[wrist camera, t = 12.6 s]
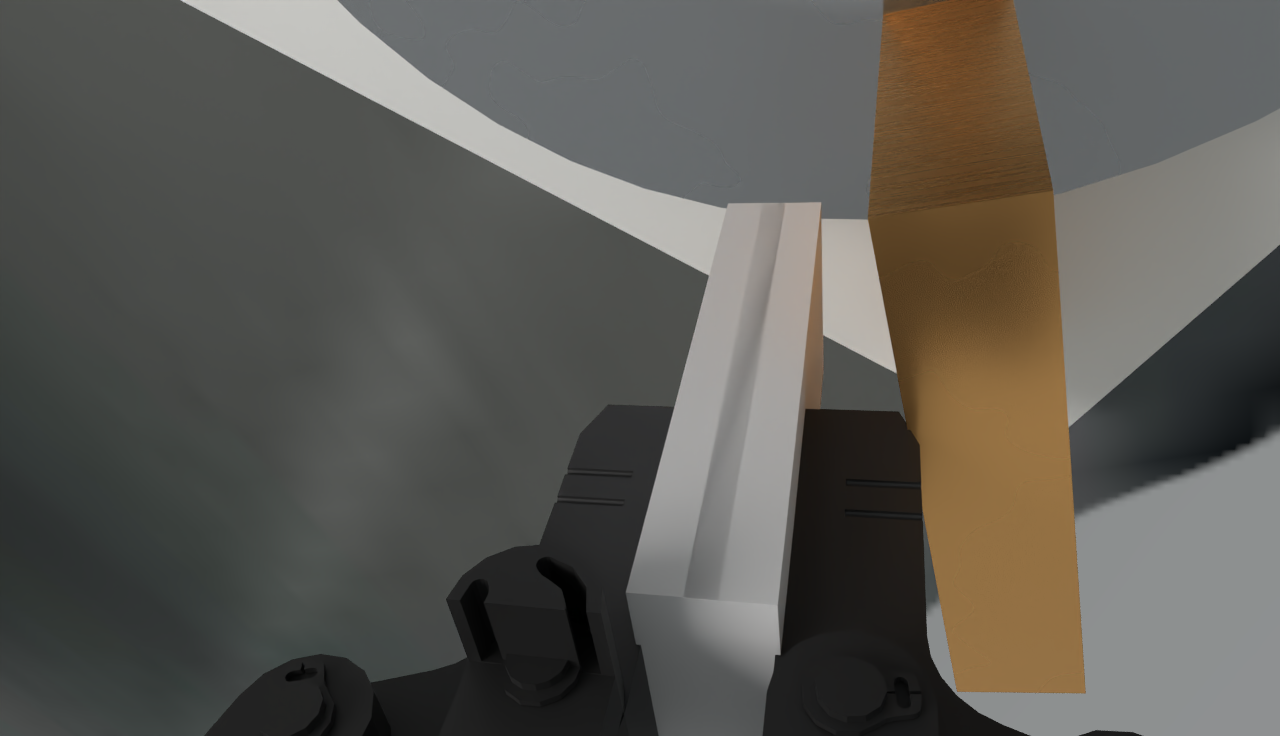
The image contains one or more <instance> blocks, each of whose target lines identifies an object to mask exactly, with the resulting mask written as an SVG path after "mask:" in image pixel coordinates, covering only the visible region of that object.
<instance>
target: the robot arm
mask: <svg viewBox="0 0 1280 736" xmlns="http://www.w3.org/2000/svg"><path fill="white" fill-rule="evenodd" d="M822 380H823V297H822V220H821V202H808V203H728V206H727V210H726V213H725V217H724V221H723V225H722V229H721V232H720V236H719V240H718V244H717V248H716V251H715V255H714V259H713V263H712V267H711V270H710V274H709V278H708V282H707V286H706V289H705V293H704V297H703V301H702V305H701V308H700V312H699V316H698V320H697V324H696V327H695V331H694V335H693V339H692V343H691V346H690V350H689V354H688V358H687V362H686V365H685V369H684V373H683V377H682V381H681V384H680V388H679V392H678V396H677V400H676V403H675V407H662V406H632V405H608V406H607V407H606V408H605V409H604V410H603V411H602V412H601V413H600V414H599V415H598V416H597V417H596V418H595V419H594V420H593V421H592V422H591V423H590V424H589V425H588V426H587V427H586V428H585V429H584V430H583V431H582V432H581V433H580V436H579V438H578V441H577V444H576V446H575V449H574V452H573V455H572V457H571V460H570V463H569V466H568V474H565V477H564V479H563V482H562V485H561V487H560V490H559V493H558V501H557V503H555V504H554V507H553V509H552V512H551V515H550V517H549V520H548V523H547V526H546V528H545V531H544V534H543V537H542V539H541V542H540V545H533V546H520V547H514V548H511V549H508V550H506V551H503V552H500V553H498V554H495V555H492V556H490V557H487V558H485V559H484V560H483V561H481V562H480V563H479V564H477V565H476V566H475V567H473V568H472V569H471V570H469V571H468V572H467V573H465V574H464V575H463V576H462V577H461V578H460V580H459V581H458V583H457V584H456V585H455V587H454V588H453V590H452V591H451V593H450V594H449V595H448V597H447V598H446V600H447V603H448V606H449V609H450V611H451V614H452V617H453V619H454V622H455V625H456V628H457V630H458V633H459V636H460V638H461V641H462V644H463V647H464V649H465V652H466V655H467V658H465V659H463V660H461V661H460V662H458V663H456V664H452V665H449V666H446V667H442V668H439V669H436V670H432V671H427V672H422V673H417V674H412V675H407V676H403V677H398V678H393V679H388V680H383V681H378V682H373V683H370V681H369V679H368V677H367V675H366V673H365V671H364V670H362V669H361V668H360V667H358V666H357V665H355V664H354V663H352V662H351V661H350V660H348V659H347V658H343V657H337V656H330V655H324V654H319V655H313V656H308V657H303V658H298V659H293V660H290V661H288V662H286V663H284V664H282V665H280V666H278V667H277V668H275V669H273V670H271V671H269V672H267V673H265V674H263V675H262V676H261V677H260V678H259V679H257V680H256V681H255V682H254V683H253V684H252V685H251V686H250V687H248V688H247V689H246V690H245V691H244V692H243V693H242V694H240V695H239V697H238V698H237V699H236V700H235V701H234V702H233V703H232V705H231V706H230V707H229V708H228V709H227V710H226V711H225V713H224V714H223V715H222V716H221V717H220V718H219V719H218V721H217V722H216V723H215V724H214V725H213V726H212V728H211V729H210V730H209V731H208V732H207V733H206V734H205V736H1029V735H1027V734H1024V733H1022V732H1019V731H1017V730H1014V729H1012V728H1009V727H1007V726H1004V725H1002V724H1000V723H998V722H996V721H994V720H992V719H990V718H988V717H986V716H984V715H982V714H980V713H978V712H977V711H976V710H974V709H973V708H972V707H970V706H969V705H968V704H967V703H965V702H964V701H963V700H962V699H960V698H959V697H958V696H957V695H956V694H955V693H954V692H953V691H952V689H951V688H950V687H949V686H948V685H947V683H946V682H945V681H944V680H943V679H942V677H941V676H940V674H939V672H938V670H937V668H936V666H935V664H934V662H933V660H932V658H931V655H930V650H929V644H928V639H927V624H926V597H925V569H924V542H923V521H922V490H921V461H920V444H919V443H918V441H917V439H916V438H915V436H914V435H913V433H912V432H911V430H908V429H907V424H906V422H905V421H904V419H903V418H902V416H901V415H900V413H899V412H893V411H861V410H829V409H820V404H821V392H822ZM1080 736H1142V735H1139V734H1136V733H1133V732H1118V731H1117V732H1116V731H1099V730H1095V731H1092V732H1089V733H1086V734H1083V735H1080Z"/></svg>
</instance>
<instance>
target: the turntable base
mask: <svg viewBox="0 0 1280 736" xmlns="http://www.w3.org/2000/svg"><path fill="white" fill-rule="evenodd" d="M181 1H183V2H185V3H187V4H189V5H191V6H193V7H194V8H196V9H198V10H200V11H202V12H204V13H206V14H208V15H210V16H212V17H214V18H216V19H217V20H219V21H221V22H223V23H225V24H227V25H229V26H231V27H233V28H235V29H237V30H239V31H241V32H242V33H244V34H246V35H248V36H250V37H252V38H254V39H256V40H258V41H260V42H262V43H264V44H265V45H267V46H269V47H271V48H273V49H275V50H277V51H279V52H281V53H283V54H285V55H287V56H289V57H290V58H292V59H294V60H296V61H298V62H300V63H302V64H304V65H306V66H308V67H310V68H312V69H313V70H315V71H317V72H319V73H321V74H323V75H325V76H327V77H329V78H331V79H333V80H335V81H336V82H338V83H340V84H342V85H344V86H346V87H348V88H350V89H352V90H354V91H356V92H358V93H360V94H361V95H363V96H365V97H367V98H369V99H371V100H373V101H375V102H377V103H379V104H381V105H383V106H384V107H386V108H388V109H390V110H392V111H394V112H396V113H398V114H400V115H402V116H404V117H406V118H408V119H409V120H411V121H413V122H415V123H417V124H419V125H421V126H423V127H425V128H427V129H429V130H431V131H432V132H434V133H436V134H438V135H440V136H442V137H444V138H446V139H448V140H450V141H452V142H454V143H455V144H457V145H459V146H461V147H463V148H465V149H467V150H469V151H471V152H473V153H475V154H477V155H479V156H480V157H482V158H484V159H486V160H488V161H490V162H492V163H494V164H496V165H498V166H500V167H502V168H503V169H505V170H507V171H509V172H511V173H513V174H515V175H517V176H519V177H521V178H523V179H525V180H527V181H528V182H530V183H532V184H534V185H536V186H538V187H540V188H542V189H544V190H546V191H548V192H550V193H551V194H553V195H555V196H557V197H559V198H561V199H563V200H565V201H567V202H569V203H571V204H573V205H574V206H576V207H578V208H580V209H582V210H584V211H586V212H588V213H590V214H592V215H594V216H596V217H598V218H599V219H601V220H603V221H605V222H607V223H609V224H611V225H613V226H615V227H617V228H619V229H621V230H622V231H624V232H626V233H628V234H630V235H632V236H634V237H636V238H638V239H640V240H642V241H644V242H646V243H647V244H649V245H651V246H653V247H655V248H657V249H659V250H661V251H663V252H665V253H667V254H669V255H670V256H672V257H674V258H676V259H678V260H680V261H682V262H684V263H686V264H688V265H690V266H692V267H693V268H695V269H697V270H699V271H701V272H703V273H705V274H707V275H709V274H710V270H711V267H712V263H713V259H714V255H715V251H716V248H717V244H718V240H719V236H720V232H721V229H722V225H723V221H724V217H725V213H726V210H727V209H726V208H720V207H716V206H712V205H708V204H704V203H700V202H696V201H692V200H688V199H684V198H680V197H676V196H672V195H668V194H664V193H660V192H656V191H652V190H648V189H644V188H641V187H639V186H636V185H633V184H631V183H628V182H625V181H623V180H620V179H617V178H615V177H612V176H609V175H607V174H604V173H601V172H599V171H596V170H593V169H591V168H588V167H585V166H583V165H580V164H577V163H575V162H572V161H570V160H568V159H566V158H564V157H562V156H560V155H558V154H556V153H554V152H552V151H550V150H548V149H546V148H544V147H542V146H540V145H538V144H536V143H534V142H532V141H530V140H528V139H526V138H524V137H522V136H520V135H518V134H516V133H514V132H512V131H510V130H508V129H507V128H505V127H503V126H501V125H499V124H497V123H496V122H494V121H492V120H491V119H489V118H488V117H486V116H485V115H483V114H482V113H480V112H479V111H477V110H476V109H474V108H473V107H471V106H470V105H468V104H466V103H465V102H463V101H462V100H460V99H459V98H457V97H456V96H454V95H453V94H451V93H450V92H448V91H447V90H445V89H443V88H442V87H440V86H439V85H437V84H436V83H434V82H433V81H431V80H430V79H428V78H427V77H426V76H425V75H423V74H422V73H421V72H420V71H418V70H417V69H416V68H415V67H413V66H412V65H411V64H410V63H409V62H407V61H406V60H405V59H404V58H402V57H401V56H400V55H399V54H398V53H396V52H395V51H394V50H393V49H391V48H390V47H389V46H388V45H386V44H385V43H384V42H383V41H382V40H380V39H379V38H378V37H377V36H375V35H374V34H373V33H372V32H371V31H369V30H368V29H367V28H366V27H364V26H363V25H362V24H361V23H360V22H359V21H358V20H357V19H356V18H355V17H354V16H353V15H352V14H351V13H350V12H349V11H348V10H347V9H346V8H345V7H344V6H343V5H342V4H341V3H340V2H339V1H338V0H181ZM1054 209H1055V225H1056V240H1057V256H1058V271H1059V287H1060V302H1061V318H1062V334H1063V349H1064V365H1065V380H1066V396H1067V411H1068V427H1070V426H1071V425H1072V424H1073V423H1074V422H1076V421H1077V420H1078V419H1079V418H1080V417H1081V416H1082V415H1084V414H1085V413H1086V412H1087V411H1088V410H1089V409H1091V408H1092V407H1093V406H1094V405H1095V404H1096V403H1097V402H1099V401H1100V400H1101V399H1102V398H1103V397H1104V396H1106V395H1107V394H1108V393H1109V392H1110V391H1111V390H1113V389H1114V388H1115V387H1116V386H1117V385H1118V384H1119V383H1121V382H1122V381H1123V380H1124V379H1125V378H1126V377H1128V376H1129V375H1130V374H1131V373H1132V372H1133V371H1134V370H1136V369H1137V368H1138V367H1139V366H1140V365H1141V364H1143V363H1144V362H1145V361H1146V360H1147V359H1148V358H1149V357H1151V356H1152V355H1153V354H1154V353H1155V352H1156V351H1158V350H1159V349H1160V348H1161V347H1162V346H1163V345H1164V344H1166V343H1167V342H1168V341H1169V340H1170V339H1171V338H1173V337H1174V336H1175V335H1176V334H1177V333H1178V332H1179V331H1181V330H1182V329H1183V328H1184V327H1185V326H1186V325H1188V324H1189V323H1190V322H1191V321H1192V320H1193V319H1195V318H1196V317H1197V316H1198V315H1199V314H1200V313H1201V312H1203V311H1204V310H1205V309H1206V308H1207V307H1208V306H1210V305H1211V304H1212V303H1213V302H1214V301H1215V300H1216V299H1218V298H1219V297H1220V296H1221V295H1222V294H1223V293H1225V292H1226V291H1227V290H1228V289H1229V288H1230V287H1231V286H1233V285H1234V284H1235V283H1236V282H1237V281H1238V280H1240V279H1241V278H1242V277H1243V276H1244V275H1245V274H1246V273H1248V272H1249V271H1250V270H1251V269H1252V268H1253V267H1255V266H1256V265H1257V264H1258V263H1259V262H1260V261H1261V260H1263V259H1264V258H1265V257H1266V256H1267V255H1268V254H1270V253H1271V252H1272V251H1273V250H1274V249H1275V248H1277V247H1278V246H1279V245H1280V109H1278V110H1276V111H1274V112H1272V113H1270V114H1269V115H1267V116H1265V117H1263V118H1261V119H1259V120H1257V121H1255V122H1253V123H1251V124H1248V125H1246V126H1243V127H1241V128H1239V129H1236V130H1234V131H1232V132H1229V133H1227V134H1225V135H1222V136H1220V137H1218V138H1215V139H1213V140H1211V141H1208V142H1206V143H1203V144H1201V145H1199V146H1196V147H1194V148H1192V149H1189V150H1187V151H1185V152H1182V153H1180V154H1178V155H1175V156H1173V157H1171V158H1168V159H1166V160H1164V161H1161V162H1159V163H1156V164H1153V165H1150V166H1147V167H1144V168H1141V169H1137V170H1134V171H1131V172H1128V173H1125V174H1121V175H1118V176H1115V177H1112V178H1109V179H1105V180H1102V181H1099V182H1096V183H1093V184H1089V185H1086V186H1083V187H1080V188H1077V189H1074V190H1070V191H1067V192H1064V193H1061V194H1056V195H1054ZM821 220H822V297H823V335H824V336H826V337H828V338H830V339H832V340H834V341H836V342H837V343H839V344H841V345H843V346H845V347H847V348H849V349H851V350H853V351H855V352H857V353H859V354H860V355H862V356H864V357H866V358H868V359H870V360H872V361H874V362H876V363H878V364H880V365H882V366H884V367H885V368H887V369H889V370H891V371H893V372H895V373H897V371H896V366H895V361H894V355H893V350H892V345H891V339H890V334H889V329H888V323H887V318H886V313H885V308H884V302H883V297H882V292H881V286H880V281H879V276H878V271H877V265H876V260H875V255H874V249H873V244H872V239H871V234H870V228H869V223H868V220H863V219H821Z"/></svg>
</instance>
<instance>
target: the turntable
mask: <svg viewBox="0 0 1280 736" xmlns="http://www.w3.org/2000/svg"><path fill="white" fill-rule="evenodd" d="M338 1H339V2H340V3H341V4H342V5H343V6H344V7H345V8H346V9H347V10H348V11H349V12H350V13H351V14H352V15H353V16H354V17H355V18H356V19H357V20H358V21H359V22H360V23H361V24H362V25H363V26H364V27H366V28H367V29H368V30H369V31H371V32H372V33H373V34H374V35H375V36H377V37H378V38H379V39H380V40H382V41H383V42H384V43H385V44H386V45H388V46H389V47H390V48H391V49H393V50H394V51H395V52H396V53H398V54H399V55H400V56H401V57H402V58H404V59H405V60H406V61H407V62H409V63H410V64H411V65H412V66H413V67H415V68H416V69H417V70H418V71H420V72H421V73H422V74H423V75H425V76H426V77H427V78H428V79H430V80H431V81H433V82H434V83H436V84H437V85H439V86H440V87H442V88H443V89H445V90H447V91H448V92H450V93H451V94H453V95H454V96H456V97H457V98H459V99H460V100H462V101H463V102H465V103H466V104H468V105H470V106H471V107H473V108H474V109H476V110H477V111H479V112H480V113H482V114H483V115H485V116H486V117H488V118H489V119H491V120H492V121H494V122H496V123H497V124H499V125H501V126H503V127H505V128H507V129H508V130H510V131H512V132H514V133H516V134H518V135H520V136H522V137H524V138H526V139H528V140H530V141H532V142H534V143H536V144H538V145H540V146H542V147H544V148H546V149H548V150H550V151H552V152H554V153H556V154H558V155H560V156H562V157H564V158H566V159H568V160H570V161H572V162H575V163H577V164H580V165H583V166H585V167H588V168H591V169H593V170H596V171H599V172H601V173H604V174H607V175H609V176H612V177H615V178H617V179H620V180H623V181H625V182H628V183H631V184H633V185H636V186H639V187H641V188H644V189H648V190H652V191H656V192H660V193H664V194H668V195H672V196H676V197H680V198H684V199H688V200H692V201H696V202H700V203H704V204H708V205H712V206H716V207H720V208H726V209H727V206H728V203H808V202H821V219H863V220H868V223H869V228H870V234H871V239H872V244H873V249H874V255H875V260H876V265H877V271H878V276H879V281H880V286H881V292H882V297H883V302H884V308H885V313H886V318H887V323H888V329H889V334H890V339H891V345H892V350H893V355H894V361H895V366H896V371H897V376H898V382H899V387H900V392H901V398H902V403H903V408H904V413H905V419H906V424H907V429H908V430H911V432H912V433H913V435H914V436H915V438H916V439H917V441H918V443H919V444H920V461H921V490H922V509H923V514H924V519H925V525H926V530H927V535H928V540H929V546H930V551H931V556H932V562H933V567H934V572H935V578H936V583H937V588H938V593H939V599H940V604H941V609H942V615H943V620H944V625H945V630H946V635H947V641H948V646H949V652H950V657H951V662H952V667H953V672H954V678H955V683H956V689H957V692H1023V693H1026V692H1027V693H1086V691H1085V676H1084V660H1083V645H1082V630H1081V614H1080V598H1079V582H1078V567H1077V551H1076V536H1075V520H1074V505H1073V489H1072V474H1071V458H1070V442H1069V427H1068V411H1067V396H1066V380H1065V365H1064V349H1063V334H1062V318H1061V302H1060V287H1059V271H1058V256H1057V240H1056V225H1055V209H1054V195H1056V194H1061V193H1064V192H1067V191H1070V190H1074V189H1077V188H1080V187H1083V186H1086V185H1089V184H1093V183H1096V182H1099V181H1102V180H1105V179H1109V178H1112V177H1115V176H1118V175H1121V174H1125V173H1128V172H1131V171H1134V170H1137V169H1141V168H1144V167H1147V166H1150V165H1153V164H1156V163H1159V162H1161V161H1164V160H1166V159H1168V158H1171V157H1173V156H1175V155H1178V154H1180V153H1182V152H1185V151H1187V150H1189V149H1192V148H1194V147H1196V146H1199V145H1201V144H1203V143H1206V142H1208V141H1211V140H1213V139H1215V138H1218V137H1220V136H1222V135H1225V134H1227V133H1229V132H1232V131H1234V130H1236V129H1239V128H1241V127H1243V126H1246V125H1248V124H1251V123H1253V122H1255V121H1257V120H1259V119H1261V118H1263V117H1265V116H1267V115H1269V114H1270V113H1272V112H1274V111H1276V110H1278V109H1280V0H338Z"/></svg>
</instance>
